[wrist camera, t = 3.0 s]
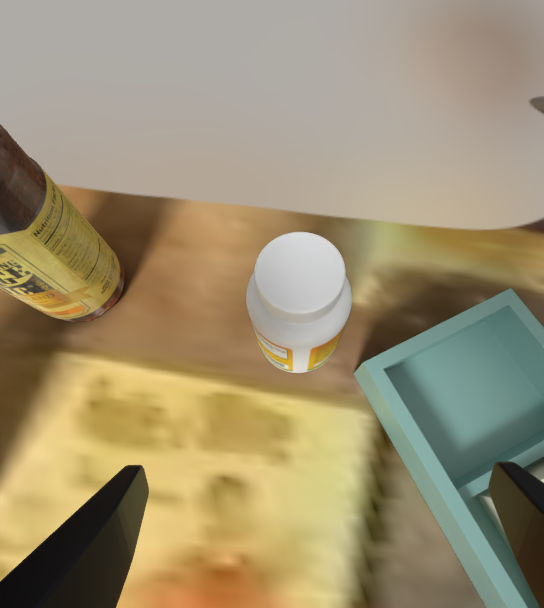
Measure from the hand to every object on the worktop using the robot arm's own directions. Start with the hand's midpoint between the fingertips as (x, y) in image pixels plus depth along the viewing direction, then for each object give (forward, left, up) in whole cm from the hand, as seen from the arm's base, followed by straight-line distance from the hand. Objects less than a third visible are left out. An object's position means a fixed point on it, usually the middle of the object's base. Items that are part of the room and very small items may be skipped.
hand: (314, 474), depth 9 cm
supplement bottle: (+7, -3, -14) cm, 16 cm away
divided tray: (-5, -10, -13) cm, 18 cm away
